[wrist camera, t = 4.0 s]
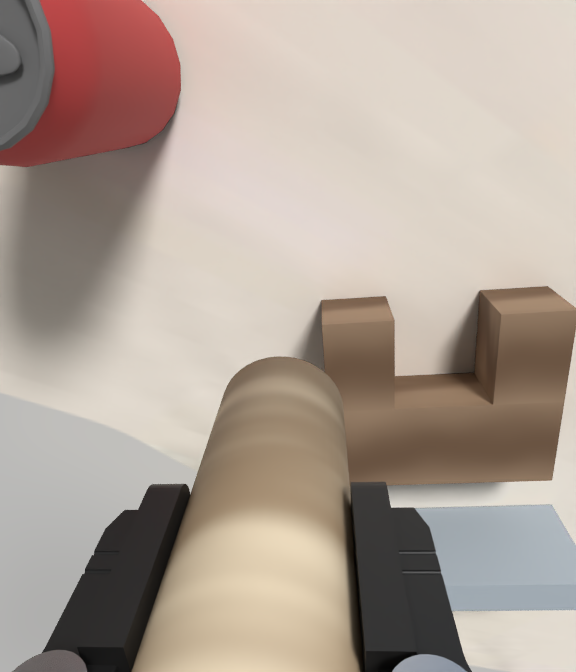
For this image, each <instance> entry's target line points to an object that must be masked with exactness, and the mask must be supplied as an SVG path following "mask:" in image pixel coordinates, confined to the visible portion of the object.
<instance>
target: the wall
mask: <svg viewBox="0 0 576 672" xmlns="http://www.w3.org/2000/svg"><path fill="white" fill-rule="evenodd" d="M415 510H416V511H417V512H418V513H419V515H420V516H421V517H422V518H423V520H424V521H425V522H426V523H427V525H428V526H429V527H430V530H431V534H432V538H433V542H434V546H435V549H436V555H437V557H438V561H439V564H440V568H441V575H442V576H443V580H444V583H445V587H446V591H447V595H448V598H449V602H450V606H451V610H452V611H514V610H576V545H575V543H574V542H573V540H572V538H571V537H570V535H569V533H568V531H567V530H566V528H565V526H564V525H563V523H562V521H561V520H560V518H559V516H558V514H557V513H556V511H555V509H554V508H553V506H552V505H522V506H483V507H443V508H415Z"/></svg>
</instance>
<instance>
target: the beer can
mask: <svg viewBox="0 0 576 672" xmlns="http://www.w3.org/2000/svg"><path fill="white" fill-rule="evenodd" d="M180 91H181V75H180V62H179V58H178V55H177V52H176V48H175V45H174V41H173V39H172V37H171V35H170V34H169V32H168V31H167V29H166V27H165V26H164V24H163V22H162V21H161V19H160V18H159V16H158V15H157V14H156V13H154V12H153V11H152V10H151V9H150V8H149V7H148V6H147V5H146V4H145V3H143V2H142V1H141V0H0V165H8V166H20V167H30V166H35V165H40V164H45V163H51V162H56V161H61V160H66V159H71V158H77V157H82V156H87V155H92V154H97V153H102V152H108V151H113V150H118V149H123V148H128V147H131V146H135V145H139V144H142V143H146V142H147V141H148V140H150V139H151V138H153V137H154V136H155V135H157V134H158V133H159V132H161V131H162V130H163V128H164V127H165V126H166V124H167V123H168V121H169V120H170V118H171V117H172V115H173V114H174V112H175V108H176V105H177V101H178V98H179V94H180Z"/></svg>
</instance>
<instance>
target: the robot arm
mask: <svg viewBox="0 0 576 672" xmlns="http://www.w3.org/2000/svg"><path fill="white" fill-rule="evenodd" d="M350 495H351V515H352V527H353V540H354V552H355V565H356V577H357V590H358V602H359V615H360V627H361V640H362V652H363V665H364V672H472V671H471V670H470V668H469V666H468V664H467V662H466V660H465V657H464V654H463V651H462V647H461V644H460V640H459V636H458V632H457V629H456V625H455V621H454V617H453V614H452V610H451V606H450V602H449V598H448V595H447V591H446V587H445V583H444V580H443V576H442V575H441V568H440V564H439V561H438V557H437V555H436V549H435V546H434V542H433V538H432V534H431V530H430V527H429V526H428V525H427V523H426V522H425V521H424V520H423V518H422V517H421V516H420V515H419V513H418V512H417V511H416V510H415V508H391V506H390V501H389V495H388V490H387V485H386V482H351V483H350ZM189 497H190V492H189V488H188V486H187V485H186V484H153V485H151V486H149V488H148V489H147V492H146V494H145V496H144V498H143V500H142V503H141V505H140V507H139V509H138V510H124V511H123V512H122V513H121V514H120V515H119V516H118V517H117V518H116V519H115V520H114V521H113V522H112V523H111V524H110V525H109V526H108V527H107V528H106V529H105V531H104V533H103V535H102V537H101V539H100V541H99V543H98V545H97V547H96V549H95V551H94V555H92V557H91V559H90V560H89V563H88V565H87V566H86V568H85V574H82V576H81V578H80V580H79V582H78V584H77V586H76V588H75V590H74V592H73V594H72V596H71V598H70V600H69V602H68V604H67V606H66V608H65V610H64V612H63V614H62V616H61V618H60V620H59V621H58V624H57V626H56V627H55V630H54V631H53V633H52V635H51V637H50V639H49V641H48V643H47V645H46V647H45V649H44V650H43V652H42V653H41V654H39V655H36V656H34V657H32V658H30V659H29V660H27V661H25V662H24V663H22V664H21V665H20V666H18V667H17V668H16V669H15V670H14V671H12V672H131V671H132V668H133V665H134V662H135V659H136V656H137V653H138V650H139V647H140V644H141V641H142V638H143V635H144V632H145V629H146V626H147V623H148V620H149V617H150V614H151V611H152V608H153V605H154V602H155V599H156V596H157V593H158V590H159V587H160V584H161V581H162V578H163V575H164V572H165V569H166V566H167V563H168V560H169V557H170V554H171V551H172V548H173V545H174V542H175V539H176V536H177V533H178V530H179V527H180V524H181V521H182V518H183V515H184V512H185V509H186V506H187V503H188V500H189Z"/></svg>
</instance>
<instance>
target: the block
mask: <svg viewBox="0 0 576 672" xmlns="http://www.w3.org/2000/svg"><path fill="white" fill-rule="evenodd" d="M575 330H576V308H575V307H574V306H573V305H571V304H570V303H569V302H567V301H566V300H565V299H564V298H562V297H561V296H560V295H558V294H557V293H556V292H554V291H553V290H552V289H551V288H549V287H548V286H545V287H529V288H513V289H497V290H481V291H480V297H479V311H478V325H477V340H476V354H475V368H474V373H457V374H436V375H415V376H395V361H394V318H393V315H392V312H391V310H390V307H389V304H388V301H387V298H386V296H383V297H367V298H351V299H335V300H322V335H323V351H324V366H325V373H326V374H327V375H328V376H329V377H330V378H331V379H332V381H333V382H334V383H335V385H336V386H337V388H338V390H339V392H340V395H341V398H342V401H343V410H344V422H345V434H346V446H347V458H348V471H349V483H351V482H386V485H412V484H446V483H480V482H514V481H548V480H552V477H553V471H554V464H555V458H556V451H557V445H558V439H559V432H560V426H561V420H562V413H563V407H564V400H565V394H566V388H567V381H568V375H569V368H570V362H571V356H572V349H573V343H574V336H575Z"/></svg>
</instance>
